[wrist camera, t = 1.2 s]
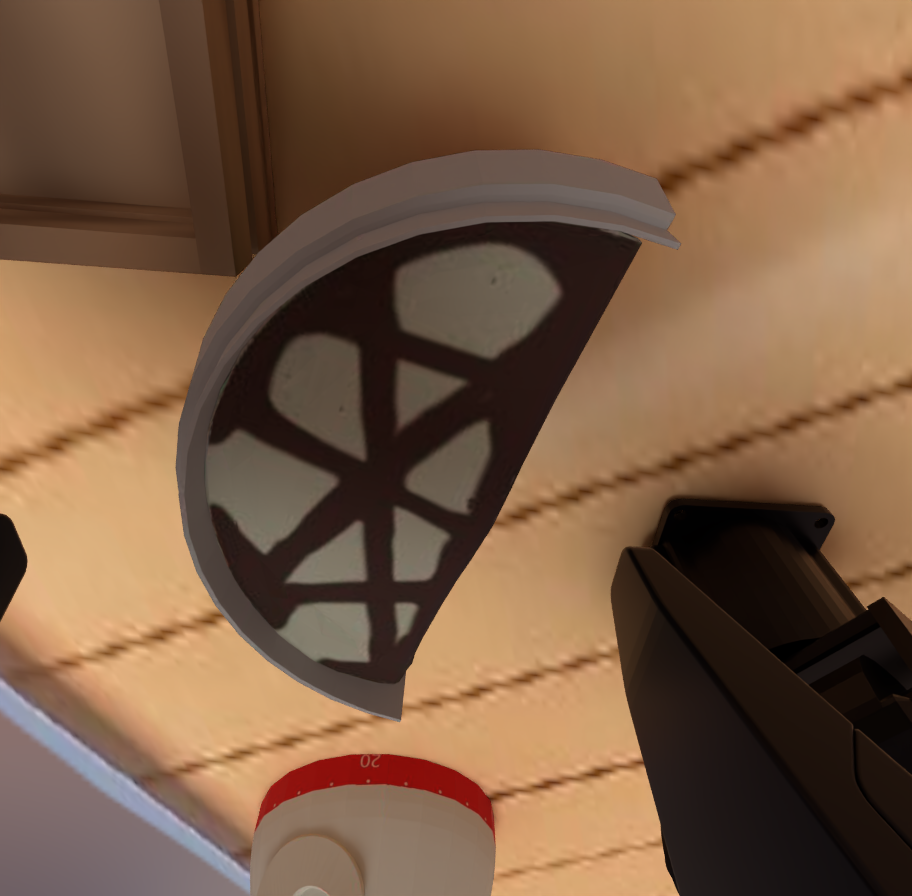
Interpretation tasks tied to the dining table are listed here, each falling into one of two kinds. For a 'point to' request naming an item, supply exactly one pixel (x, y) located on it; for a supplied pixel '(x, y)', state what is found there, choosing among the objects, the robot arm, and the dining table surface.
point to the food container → (392, 397)
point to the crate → (134, 134)
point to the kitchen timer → (373, 831)
